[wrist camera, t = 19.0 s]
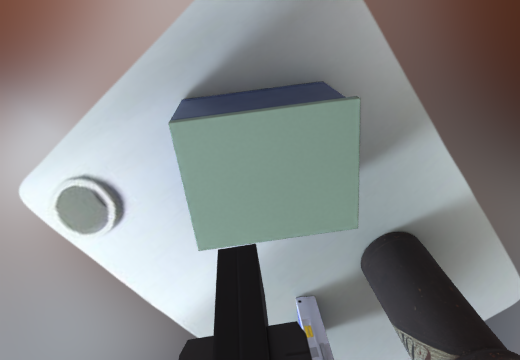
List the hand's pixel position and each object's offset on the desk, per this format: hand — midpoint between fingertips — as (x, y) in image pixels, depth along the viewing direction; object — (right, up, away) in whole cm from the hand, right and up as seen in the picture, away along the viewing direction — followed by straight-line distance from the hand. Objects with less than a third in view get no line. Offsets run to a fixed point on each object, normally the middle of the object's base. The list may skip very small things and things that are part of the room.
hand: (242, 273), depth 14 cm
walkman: (+8, -16, +36) cm, 41 cm away
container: (+19, -6, +33) cm, 38 cm away
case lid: (+2, +4, +17) cm, 18 cm away
